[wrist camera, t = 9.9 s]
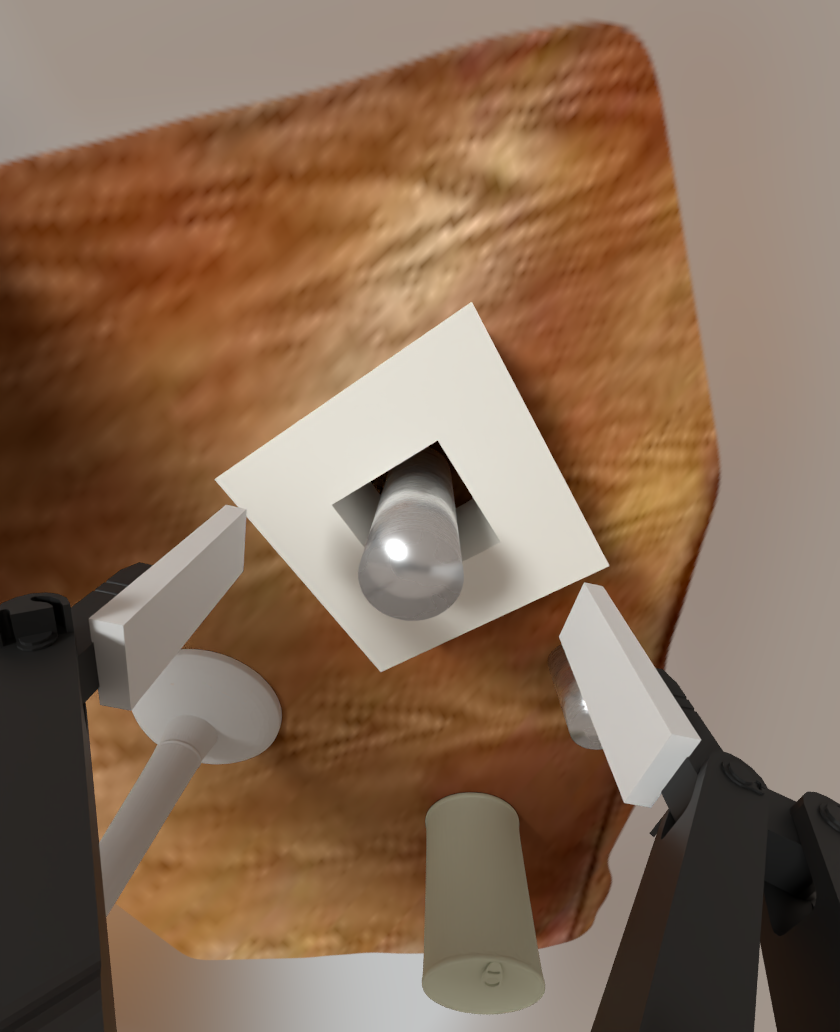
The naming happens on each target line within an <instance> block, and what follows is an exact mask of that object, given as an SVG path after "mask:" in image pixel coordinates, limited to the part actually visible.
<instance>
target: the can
mask: <svg viewBox="0 0 840 1032" xmlns="http://www.w3.org/2000/svg"><path fill="white" fill-rule="evenodd" d="M425 825H426V835H427V848H426V897H425V931H424V962H423V977H422V987H423V990H424V992H425V993H426V995H427V996H428V997H429V998H430V999H432V1000H433V1001H434V1002H436V1003H438V1004H440V1005H442V1006H444V1007H446V1008H450V1009H453V1010H456V1011H460V1012H465V1013H474V1014H502V1013H509V1012H514V1011H518V1010H521V1009H524V1008H527V1007H529V1006H531V1005H533V1004H534V1003H536V1002H537V1001H538V1000H539V999H540V998H541V997H542V996H543V994H544V992H545V982H544V978H543V974H542V969H541V963H540V958H539V952H538V947H537V941H536V935H535V929H534V923H533V917H532V911H531V905H530V899H529V892H528V886H527V880H526V874H525V867H524V861H523V854H522V848H521V841H520V833H519V818H518V815H517V813H516V811H515V810H514V809H513V807H512V806H511V805H510V804H508V803H507V802H505V801H504V800H502V799H500V798H498V797H495V796H493V795H489V794H484V793H476V792H466V793H458V794H454V795H450V796H447V797H445V798H443V799H441V800H439V801H437V802H436V803H435V804H434V805H432V807H431V808H430V809H429V811H428V812H427V815H426V819H425Z"/></svg>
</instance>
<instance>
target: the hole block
mask: <svg viewBox="0 0 840 1032" xmlns="http://www.w3.org/2000/svg"><path fill="white" fill-rule="evenodd" d="M436 441H438V442H439V443H440V445H441V447H442V448H443V450H444V451H445V453H446V455H447V456H448V458H449V460H450V461H451V463H452V464H453V466H454V468H455V469H456V471H457V472H458V474H459V476H460V477H461V479H462V480H463V482H464V484H465V485H466V487H467V488H468V490H469V492H470V493H471V495H472V497H473V498H474V499H472V500H470V501H468V502H466V503H465V504H463V505H461V506H459V507H457V508H456V517H457V525H458V532H459V540H460V548H461V556H462V564H463V572H464V582H463V587H462V590H461V592H460V595H459V596H458V598H457V600H456V601H455V602H454V603H453V605H452V606H450V607H449V608H448V609H447V610H446V611H444V612H443V613H441V614H439V615H437V616H435V617H432V618H429V619H425V620H419V621H406V620H400V619H396V618H392V617H390V616H387V615H385V614H383V613H382V612H380V611H379V610H377V609H376V608H375V607H373V606H372V605H371V604H370V603H369V601H368V600H367V599H366V597H365V596H364V594H363V592H362V590H361V588H360V585H359V579H358V570H359V565H360V561H361V558H362V555H363V552H364V548H365V545H366V542H367V539H368V536H369V532H370V529H371V526H372V523H373V520H374V517H375V513H376V510H377V507H378V504H379V501H380V498H381V495H380V494H379V492H378V491H377V490H376V488H375V487H374V485H373V484H372V483H371V481H372V480H374V479H375V478H377V477H378V476H380V475H382V474H383V473H385V472H387V471H388V470H390V469H392V468H393V467H395V466H397V465H398V464H400V463H401V462H403V461H405V460H406V459H408V458H410V457H411V456H413V455H415V454H416V453H418V452H420V451H421V450H423V449H424V448H426V447H428V446H429V445H431V444H433V443H434V442H436ZM215 481H216V482H217V483H218V484H219V485H220V486H221V487H222V489H223V490H224V491H225V492H226V493H227V494H228V496H229V497H230V498H231V499H232V500H233V501H234V503H235V504H236V505H237V506H238V507H239V508H243V509H247V512H246V516H247V518H248V519H249V520H250V521H251V522H252V523H253V525H254V526H255V527H256V528H257V529H258V530H259V532H260V533H261V534H262V535H263V536H264V537H265V538H266V540H267V541H268V542H269V543H270V544H271V545H272V547H273V548H274V549H275V550H276V551H277V552H278V554H279V555H280V556H281V557H282V558H283V559H284V561H285V562H286V563H287V564H288V565H289V566H290V567H291V569H292V570H293V571H294V572H295V573H296V574H297V576H298V577H299V578H300V579H301V580H302V581H303V583H304V584H305V585H306V586H307V587H308V588H309V590H310V591H311V592H312V593H313V594H314V595H315V596H316V598H317V599H318V600H319V601H320V602H321V603H322V605H323V606H324V607H325V608H326V609H327V610H328V612H329V613H330V614H331V615H332V616H333V617H334V618H335V620H336V621H337V622H338V623H339V624H340V625H341V627H342V628H343V629H344V630H345V631H346V632H347V634H348V635H349V636H350V637H351V638H352V639H353V641H354V642H355V643H356V644H357V645H358V646H359V647H360V649H361V650H362V651H363V652H364V653H365V654H366V656H367V657H368V658H369V659H370V660H371V661H372V663H373V664H374V665H375V666H376V667H377V668H378V669H379V671H380V672H382V671H384V670H387V669H389V668H391V667H393V666H395V665H397V664H399V663H402V662H404V661H406V660H408V659H410V658H412V657H415V656H417V655H419V654H421V653H423V652H425V651H427V650H430V649H432V648H434V647H436V646H438V645H440V644H443V643H445V642H447V641H449V640H451V639H453V638H455V637H458V636H460V635H462V634H464V633H466V632H468V631H471V630H473V629H475V628H477V627H479V626H481V625H483V624H486V623H488V622H490V621H492V620H494V619H496V618H499V617H501V616H503V615H505V614H507V613H509V612H511V611H514V610H516V609H518V608H520V607H522V606H524V605H527V604H529V603H531V602H533V601H535V600H537V599H539V598H542V597H544V596H546V595H548V594H550V593H552V592H555V591H557V590H559V589H561V588H563V587H565V586H567V585H570V584H572V583H574V582H576V581H578V580H580V579H583V578H585V577H587V576H589V575H591V574H593V573H595V572H598V571H600V570H602V569H604V568H606V567H608V566H609V564H608V562H607V560H606V558H605V556H604V554H603V553H602V551H601V549H600V547H599V545H598V543H597V541H596V539H595V537H594V535H593V533H592V531H591V530H590V528H589V526H588V524H587V522H586V520H585V518H584V516H583V514H582V512H581V510H580V508H579V507H578V505H577V503H576V501H575V499H574V497H573V495H572V493H571V491H570V489H569V487H568V485H567V484H566V482H565V480H564V478H563V476H562V474H561V472H560V470H559V468H558V466H557V464H556V462H555V461H554V459H553V457H552V455H551V453H550V451H549V449H548V447H547V445H546V443H545V441H544V439H543V438H542V436H541V434H540V432H539V430H538V428H537V426H536V424H535V422H534V420H533V418H532V416H531V415H530V413H529V411H528V409H527V407H526V405H525V403H524V401H523V399H522V397H521V395H520V394H519V392H518V390H517V388H516V386H515V384H514V382H513V380H512V378H511V376H510V374H509V372H508V371H507V369H506V367H505V365H504V363H503V361H502V359H501V357H500V355H499V353H498V351H497V349H496V348H495V346H494V344H493V342H492V340H491V338H490V336H489V334H488V332H487V330H486V328H485V326H484V325H483V323H482V321H481V319H480V317H479V315H478V313H477V311H476V309H475V307H474V305H473V303H472V302H471V303H469V304H468V305H466V306H465V307H464V308H462V309H461V310H459V311H458V312H456V313H455V314H453V315H452V316H450V317H449V318H448V319H446V320H445V321H443V322H442V323H440V324H439V325H437V326H436V327H435V328H433V329H432V330H430V331H429V332H427V333H426V334H424V335H423V336H421V337H420V338H419V339H417V340H416V341H414V342H413V343H411V344H410V345H408V346H407V347H406V348H404V349H403V350H401V351H400V352H398V353H397V354H395V355H394V356H392V357H391V358H390V359H388V360H387V361H385V362H384V363H382V364H381V365H379V366H378V367H377V368H375V369H374V370H372V371H371V372H369V373H368V374H366V375H365V376H363V377H362V378H361V379H359V380H358V381H356V382H355V383H353V384H352V385H350V386H349V387H348V388H346V389H345V390H343V391H342V392H340V393H339V394H337V395H336V396H334V397H333V398H332V399H330V400H329V401H327V402H326V403H324V404H323V405H321V406H320V407H319V408H317V409H316V410H314V411H313V412H311V413H310V414H308V415H307V416H305V417H304V418H303V419H301V420H300V421H298V422H297V423H295V424H294V425H292V426H291V427H290V428H288V429H287V430H285V431H284V432H282V433H281V434H279V435H278V436H276V437H275V438H274V439H272V440H271V441H269V442H268V443H266V444H265V445H263V446H262V447H261V448H259V449H258V450H256V451H255V452H253V453H252V454H250V455H249V456H247V457H246V458H245V459H243V460H242V461H240V462H239V463H237V464H236V465H234V466H233V467H232V468H230V469H229V470H227V471H226V472H224V473H223V474H221V475H220V476H218V477H217V478H216V479H215Z"/></svg>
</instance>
